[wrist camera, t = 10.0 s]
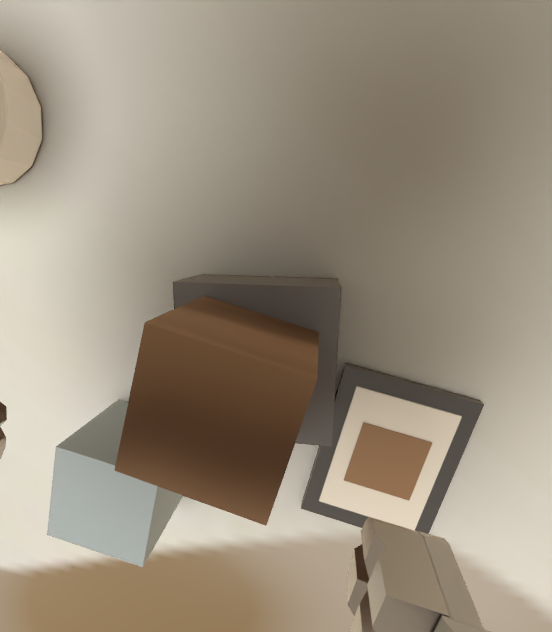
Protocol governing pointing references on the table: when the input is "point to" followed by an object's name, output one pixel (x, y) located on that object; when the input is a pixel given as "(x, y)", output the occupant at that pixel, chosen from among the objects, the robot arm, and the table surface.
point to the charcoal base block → (294, 307)
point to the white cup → (17, 121)
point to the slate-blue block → (105, 494)
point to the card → (389, 450)
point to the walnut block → (218, 404)
